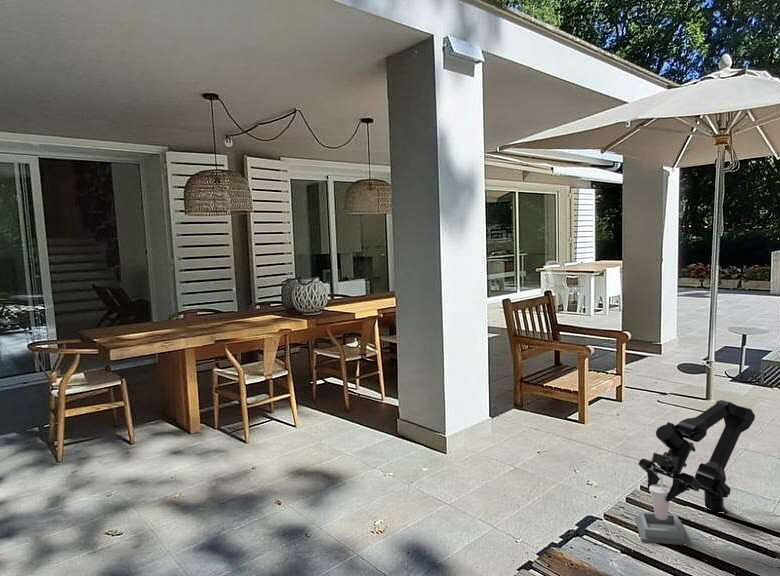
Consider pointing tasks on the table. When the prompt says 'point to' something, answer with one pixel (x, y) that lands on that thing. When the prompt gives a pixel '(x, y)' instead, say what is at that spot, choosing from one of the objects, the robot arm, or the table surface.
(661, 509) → the smoothie
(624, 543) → the table surface
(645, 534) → the holder
